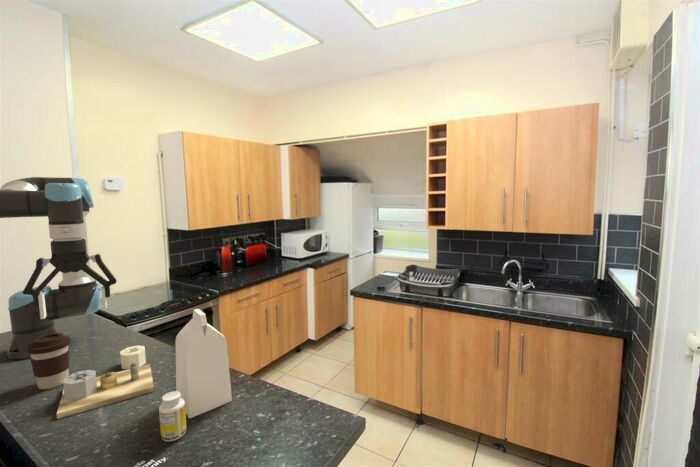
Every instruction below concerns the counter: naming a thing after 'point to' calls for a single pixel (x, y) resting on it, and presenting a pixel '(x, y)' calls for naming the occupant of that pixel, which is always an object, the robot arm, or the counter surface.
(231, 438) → the counter surface
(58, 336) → the coffee cup
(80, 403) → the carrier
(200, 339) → the milk
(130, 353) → the white octagonal block
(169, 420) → the supplement bottle
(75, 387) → the seated gear
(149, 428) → the counter surface
